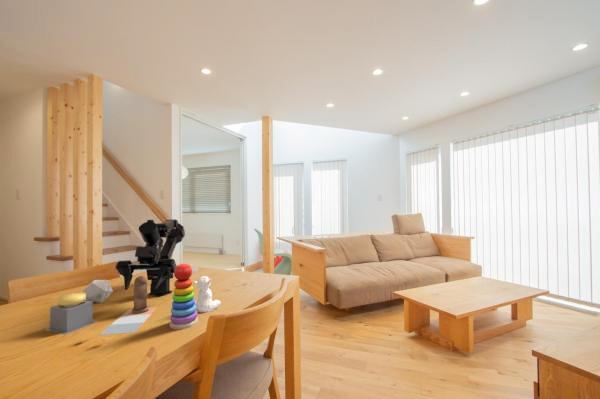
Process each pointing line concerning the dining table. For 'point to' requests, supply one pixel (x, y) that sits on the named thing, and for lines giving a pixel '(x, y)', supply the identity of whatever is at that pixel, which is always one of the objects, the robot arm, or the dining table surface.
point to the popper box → (70, 317)
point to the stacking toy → (183, 299)
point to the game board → (128, 322)
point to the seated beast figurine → (205, 296)
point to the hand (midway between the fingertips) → (140, 288)
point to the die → (98, 291)
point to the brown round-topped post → (140, 295)
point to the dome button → (71, 299)
